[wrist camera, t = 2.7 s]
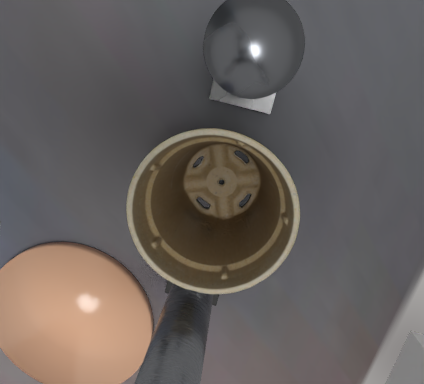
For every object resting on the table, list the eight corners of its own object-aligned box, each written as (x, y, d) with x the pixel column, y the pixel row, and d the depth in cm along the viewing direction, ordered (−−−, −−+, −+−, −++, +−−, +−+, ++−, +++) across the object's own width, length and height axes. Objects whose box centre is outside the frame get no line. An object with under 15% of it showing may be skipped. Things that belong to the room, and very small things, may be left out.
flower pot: (150, 218, 28) (111, 269, 20) (176, 104, 25) (144, 107, 17) (261, 249, 28) (269, 313, 20) (298, 137, 25) (325, 157, 17)
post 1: (178, 239, 28) (119, 369, 15) (229, 252, 28) (217, 396, 15) (167, 284, 29) (104, 443, 16) (217, 297, 29) (195, 468, 16)
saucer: (-1, 223, 29) (-9, 227, 28) (168, 266, 29) (165, 272, 28) (-9, 361, 33) (-17, 368, 32) (138, 400, 33) (134, 409, 32)
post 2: (225, 35, 24) (201, -48, 10) (286, 50, 24) (344, -13, 10) (210, 98, 25) (172, 99, 11) (268, 113, 25) (299, 131, 11)
